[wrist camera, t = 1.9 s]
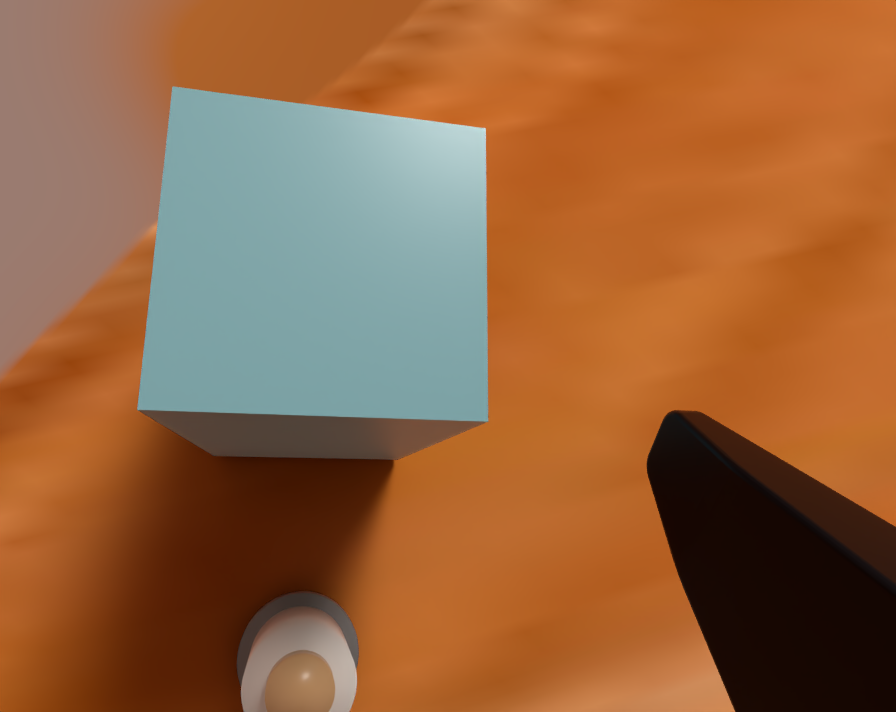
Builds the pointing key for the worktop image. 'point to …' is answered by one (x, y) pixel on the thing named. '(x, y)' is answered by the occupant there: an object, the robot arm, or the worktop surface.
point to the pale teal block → (316, 281)
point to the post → (298, 656)
